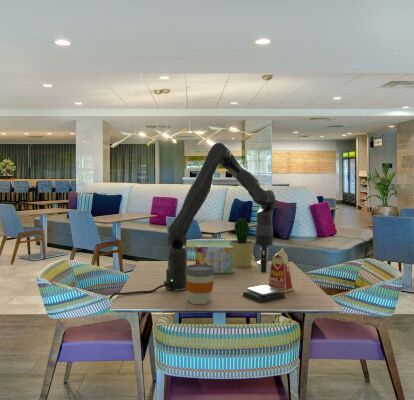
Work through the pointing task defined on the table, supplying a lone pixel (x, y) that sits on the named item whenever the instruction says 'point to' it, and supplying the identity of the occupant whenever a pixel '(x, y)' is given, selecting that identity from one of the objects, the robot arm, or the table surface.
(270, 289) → the grey square plate
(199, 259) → the snack box
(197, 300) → the reusable coffee cup
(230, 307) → the table surface
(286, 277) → the milk carton
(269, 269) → the white cup
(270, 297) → the scale
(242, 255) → the potted cactus
